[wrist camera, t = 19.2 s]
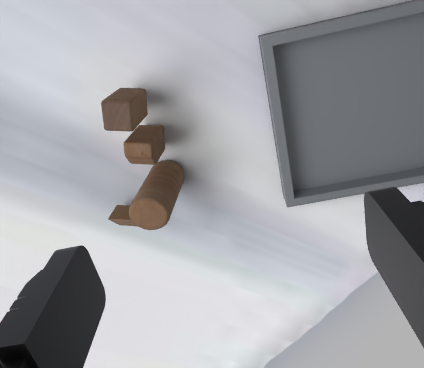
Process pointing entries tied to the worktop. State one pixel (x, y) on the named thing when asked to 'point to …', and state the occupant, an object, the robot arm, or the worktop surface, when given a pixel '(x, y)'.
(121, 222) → the wooden block set
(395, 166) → the tray
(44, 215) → the worktop surface
